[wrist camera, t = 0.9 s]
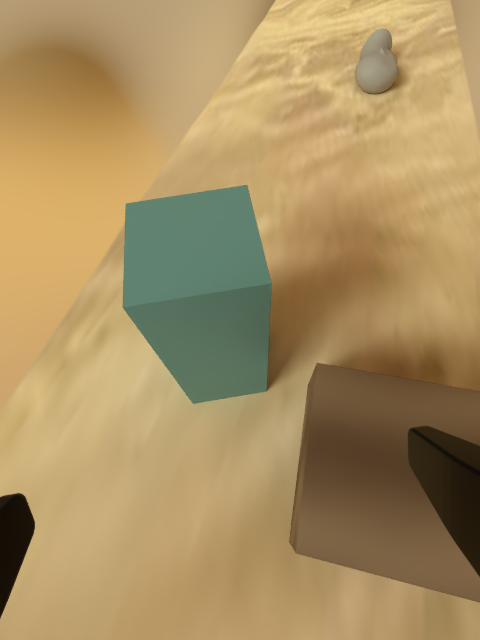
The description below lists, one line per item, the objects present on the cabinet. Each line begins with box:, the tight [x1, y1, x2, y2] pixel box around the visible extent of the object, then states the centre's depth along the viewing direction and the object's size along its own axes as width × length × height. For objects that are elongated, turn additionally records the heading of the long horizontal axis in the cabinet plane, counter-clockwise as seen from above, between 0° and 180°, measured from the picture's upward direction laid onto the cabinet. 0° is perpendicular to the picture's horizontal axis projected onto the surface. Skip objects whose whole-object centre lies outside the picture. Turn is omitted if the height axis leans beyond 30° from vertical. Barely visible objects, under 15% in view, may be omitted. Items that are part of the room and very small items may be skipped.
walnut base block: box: [289, 363, 480, 602], centre depth 17 cm, size 9×9×4 cm
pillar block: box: [123, 185, 272, 404], centre depth 17 cm, size 5×5×12 cm
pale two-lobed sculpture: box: [355, 29, 399, 94], centre depth 38 cm, size 4×8×5 cm
